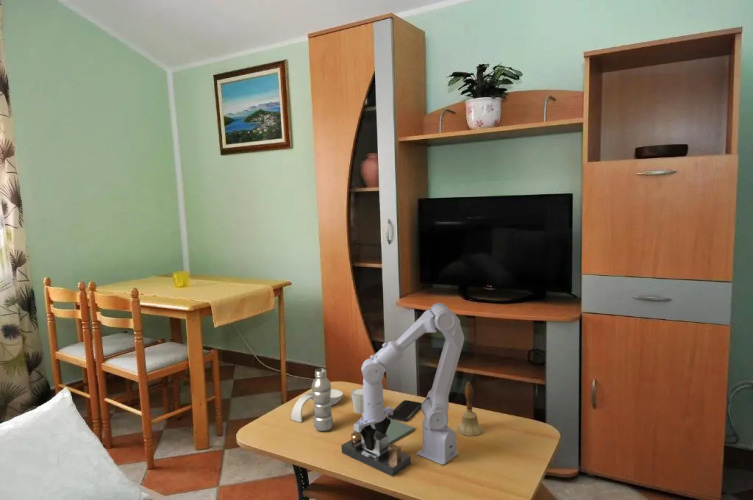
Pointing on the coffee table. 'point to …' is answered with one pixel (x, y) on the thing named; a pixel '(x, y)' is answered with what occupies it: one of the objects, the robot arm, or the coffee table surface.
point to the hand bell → (469, 416)
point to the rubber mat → (396, 430)
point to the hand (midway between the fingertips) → (375, 446)
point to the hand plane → (377, 456)
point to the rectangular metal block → (378, 443)
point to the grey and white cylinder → (358, 400)
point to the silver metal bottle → (322, 401)
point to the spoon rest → (297, 409)
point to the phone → (405, 410)
